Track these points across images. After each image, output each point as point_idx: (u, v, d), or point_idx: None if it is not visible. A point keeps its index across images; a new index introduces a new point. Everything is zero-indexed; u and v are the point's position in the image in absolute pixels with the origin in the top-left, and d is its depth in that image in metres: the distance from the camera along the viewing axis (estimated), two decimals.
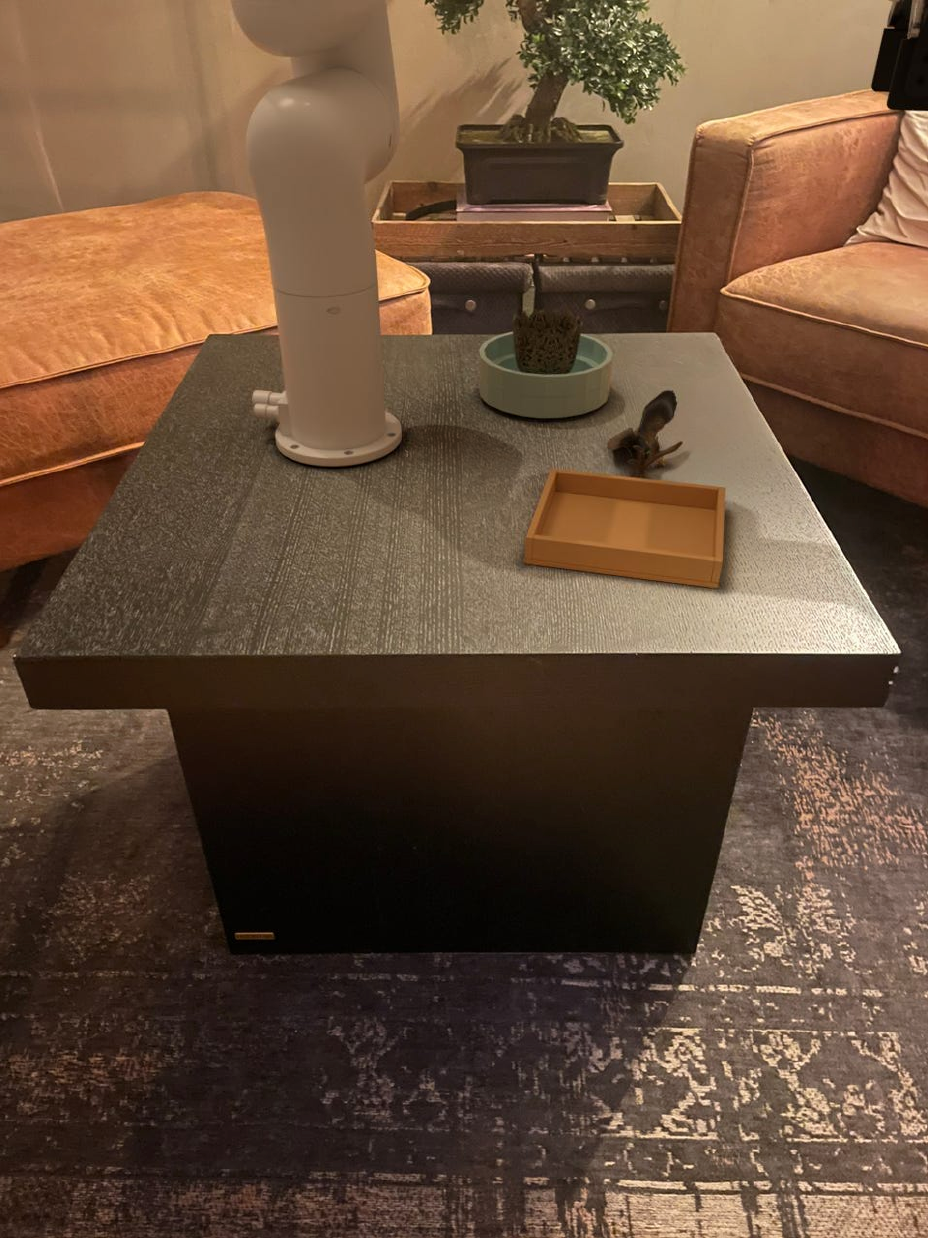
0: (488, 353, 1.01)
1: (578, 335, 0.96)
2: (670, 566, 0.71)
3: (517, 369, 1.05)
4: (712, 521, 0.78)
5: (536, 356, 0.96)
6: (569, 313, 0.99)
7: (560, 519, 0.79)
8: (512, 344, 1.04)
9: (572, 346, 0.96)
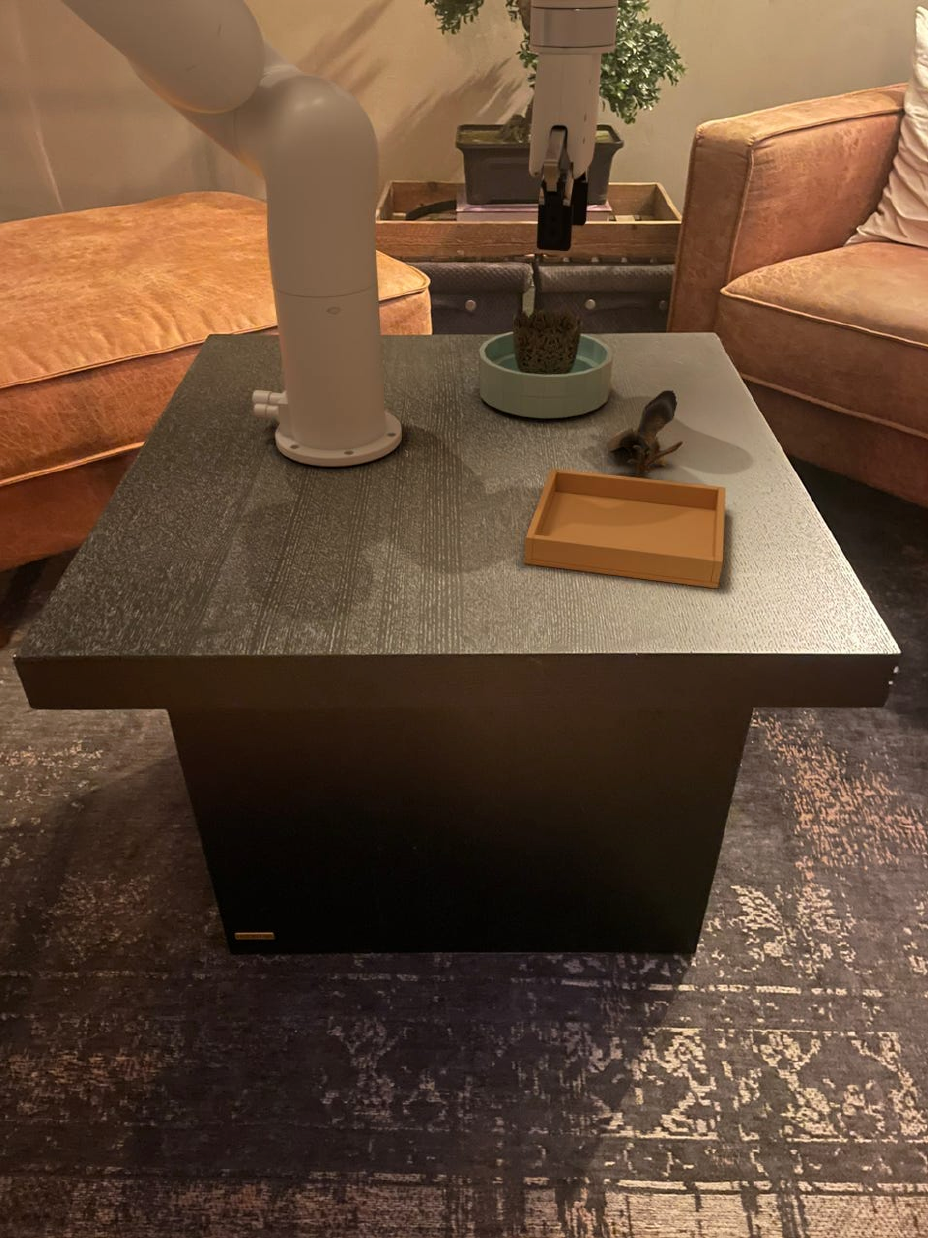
0: (488, 353, 1.01)
1: (578, 335, 0.96)
2: (670, 566, 0.71)
3: (517, 369, 1.05)
4: (712, 521, 0.78)
5: (536, 356, 0.96)
6: (569, 313, 0.99)
7: (560, 519, 0.79)
8: (512, 344, 1.04)
9: (572, 346, 0.96)
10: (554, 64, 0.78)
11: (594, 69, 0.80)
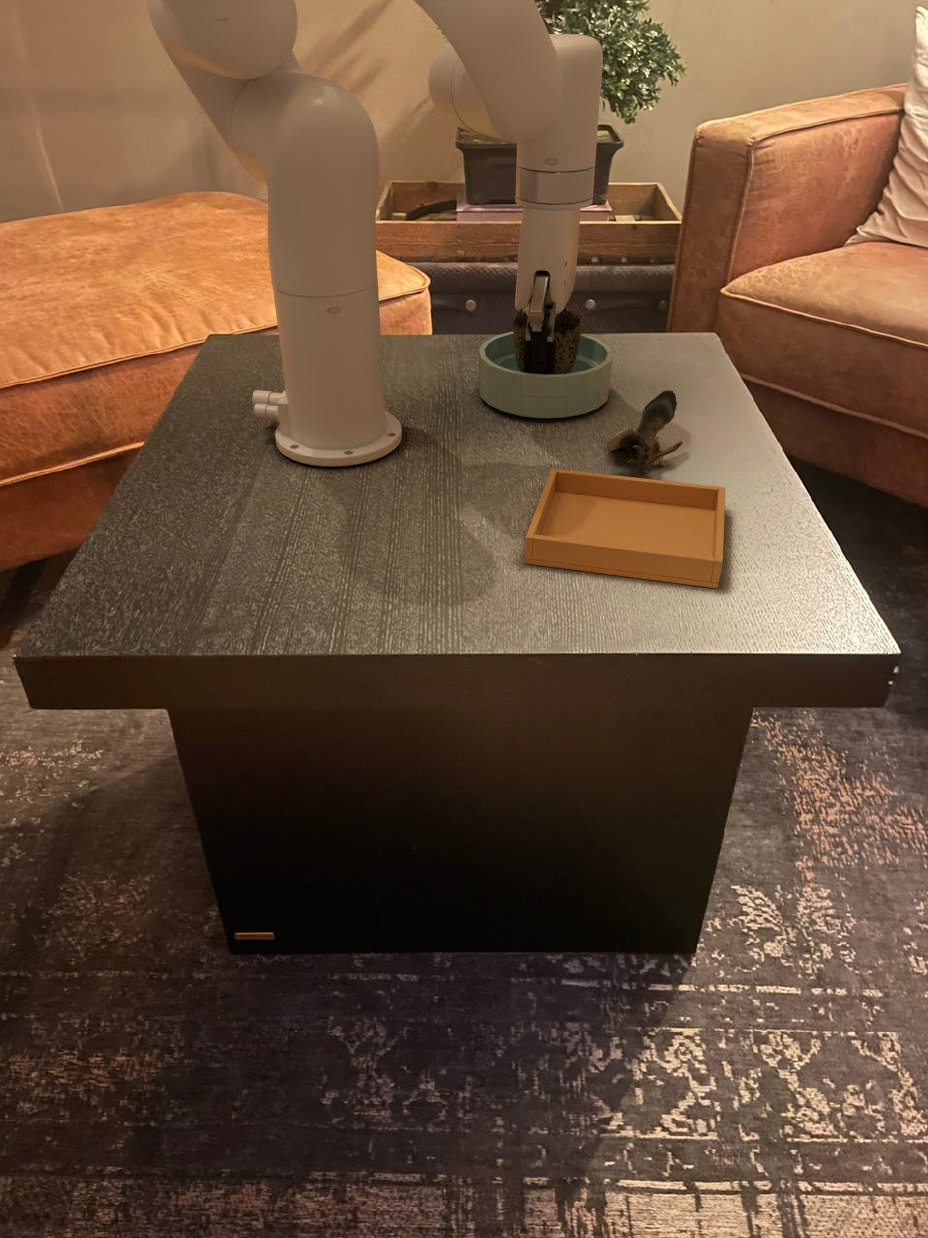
0: (488, 353, 1.01)
1: (578, 335, 0.96)
2: (670, 566, 0.71)
3: (517, 369, 1.05)
4: (712, 521, 0.78)
5: None
6: (569, 313, 0.99)
7: (560, 519, 0.79)
8: (512, 344, 1.04)
9: (572, 346, 0.96)
10: (537, 219, 0.87)
11: (574, 221, 0.88)
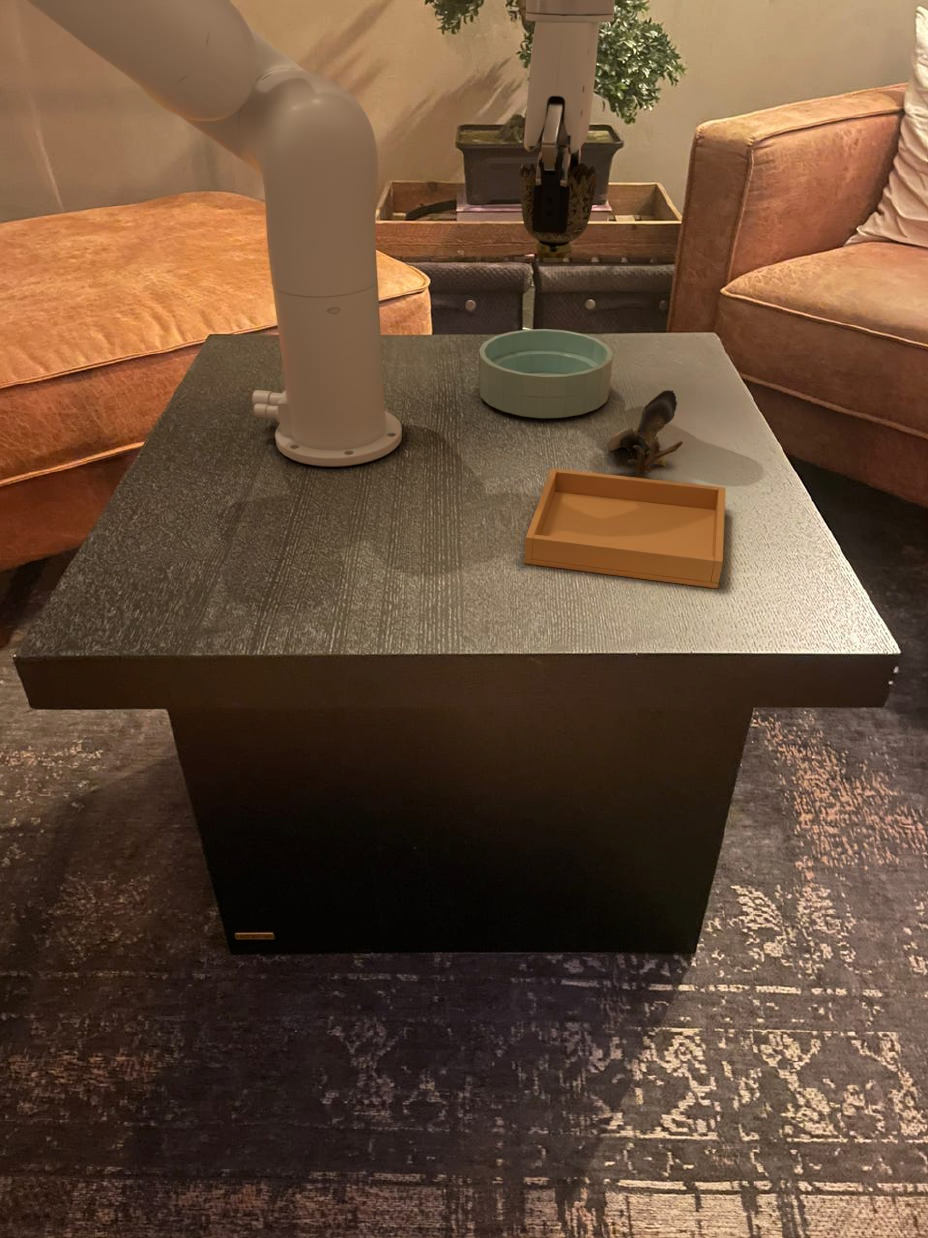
0: (488, 353, 1.01)
1: (594, 185, 0.85)
2: (670, 566, 0.71)
3: (517, 369, 1.05)
4: (712, 521, 0.78)
5: None
6: (582, 166, 0.88)
7: (560, 519, 0.79)
8: (512, 344, 1.04)
9: (587, 197, 0.85)
10: (552, 32, 0.76)
11: (592, 39, 0.77)
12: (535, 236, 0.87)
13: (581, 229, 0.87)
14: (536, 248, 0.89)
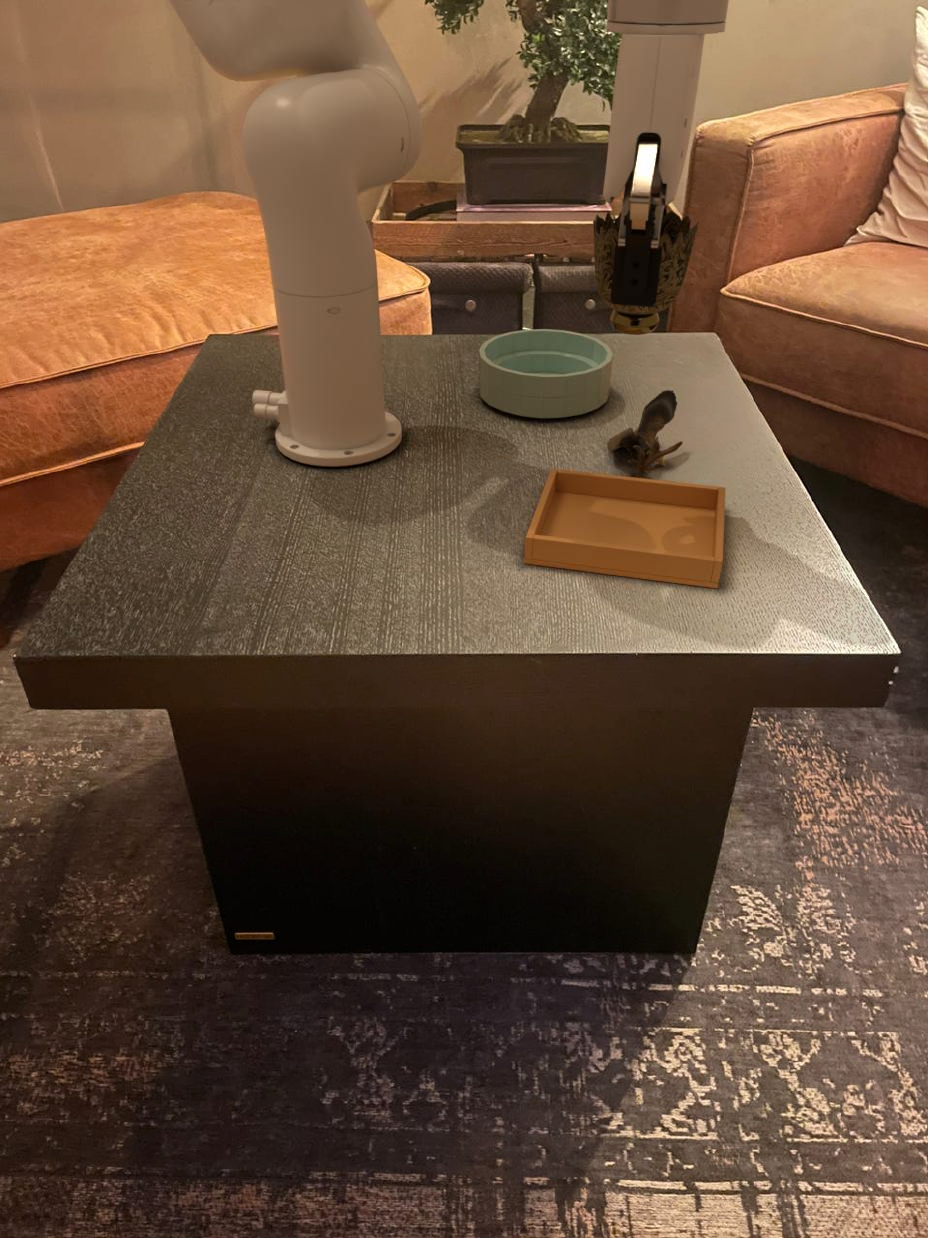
0: (488, 353, 1.01)
1: (692, 242, 0.65)
2: (670, 566, 0.71)
3: (517, 369, 1.05)
4: (712, 521, 0.78)
5: None
6: (673, 215, 0.68)
7: (560, 519, 0.79)
8: (512, 344, 1.04)
9: (683, 258, 0.65)
10: (646, 48, 0.56)
11: (698, 56, 0.58)
12: (613, 307, 0.68)
13: (673, 298, 0.67)
14: (613, 320, 0.70)
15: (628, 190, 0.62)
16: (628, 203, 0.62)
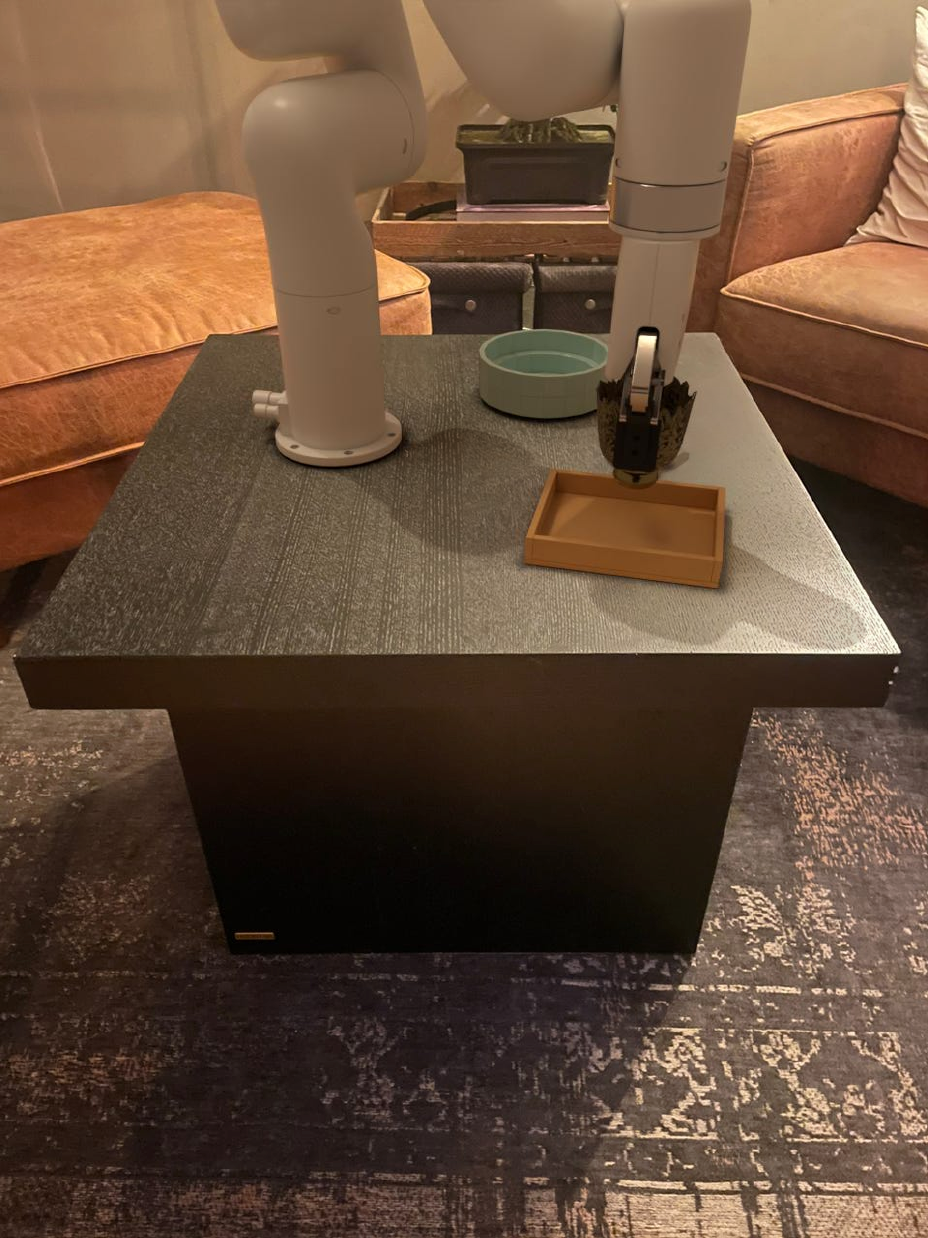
0: (488, 353, 1.01)
1: (690, 411, 0.69)
2: (670, 566, 0.71)
3: (517, 369, 1.05)
4: (712, 521, 0.78)
5: None
6: (673, 378, 0.72)
7: (560, 519, 0.79)
8: (512, 344, 1.04)
9: (682, 426, 0.69)
10: (646, 254, 0.60)
11: (695, 255, 0.61)
12: None
13: (672, 459, 0.71)
14: (615, 476, 0.73)
15: (629, 371, 0.65)
16: (629, 383, 0.65)
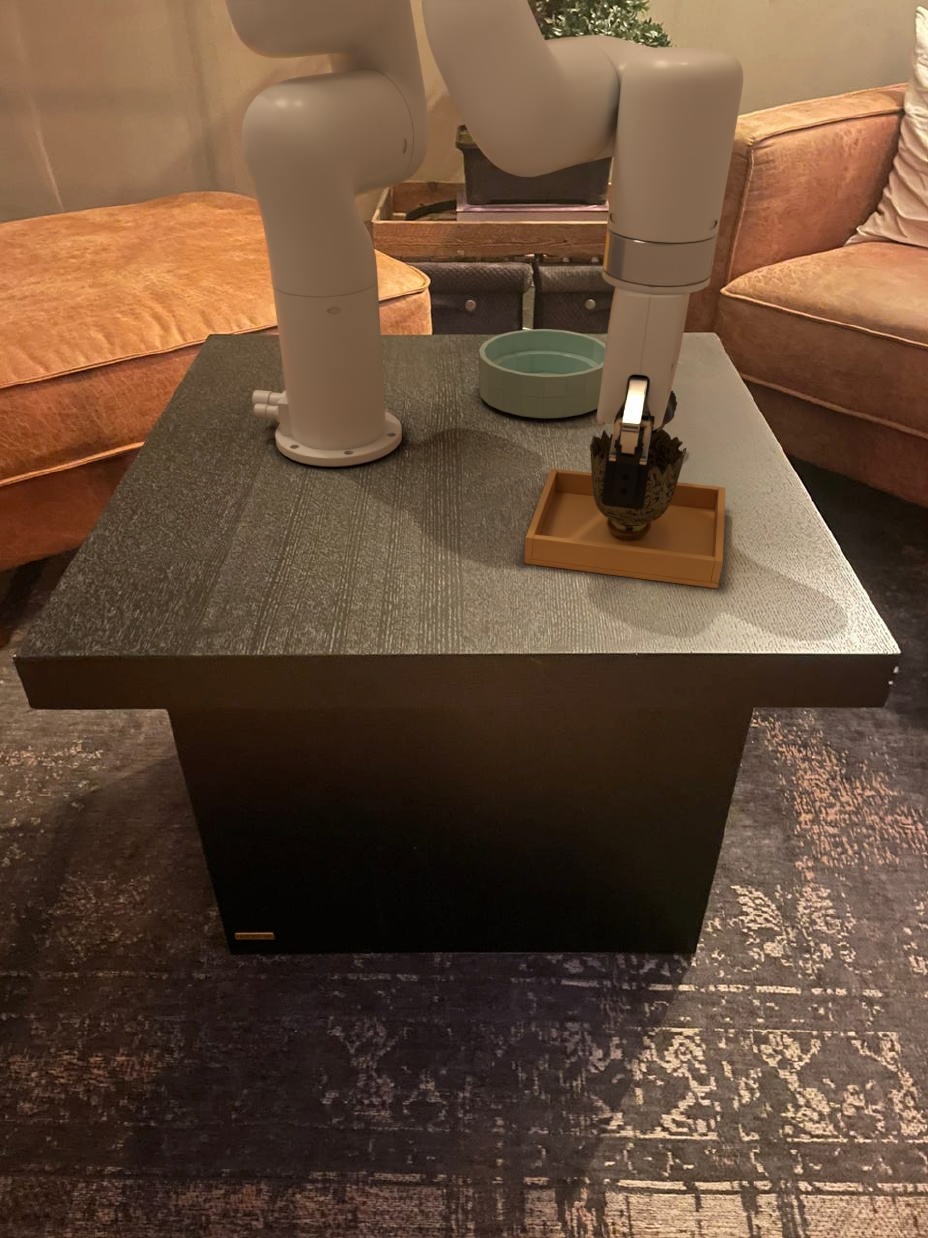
0: (488, 353, 1.01)
1: (680, 467, 0.71)
2: (670, 566, 0.71)
3: (517, 369, 1.05)
4: (712, 521, 0.78)
5: None
6: (664, 433, 0.74)
7: (560, 519, 0.79)
8: (512, 344, 1.04)
9: (672, 482, 0.71)
10: (637, 306, 0.62)
11: (685, 307, 0.63)
12: (608, 518, 0.74)
13: (663, 512, 0.73)
14: (609, 526, 0.76)
15: (619, 412, 0.67)
16: (619, 423, 0.67)
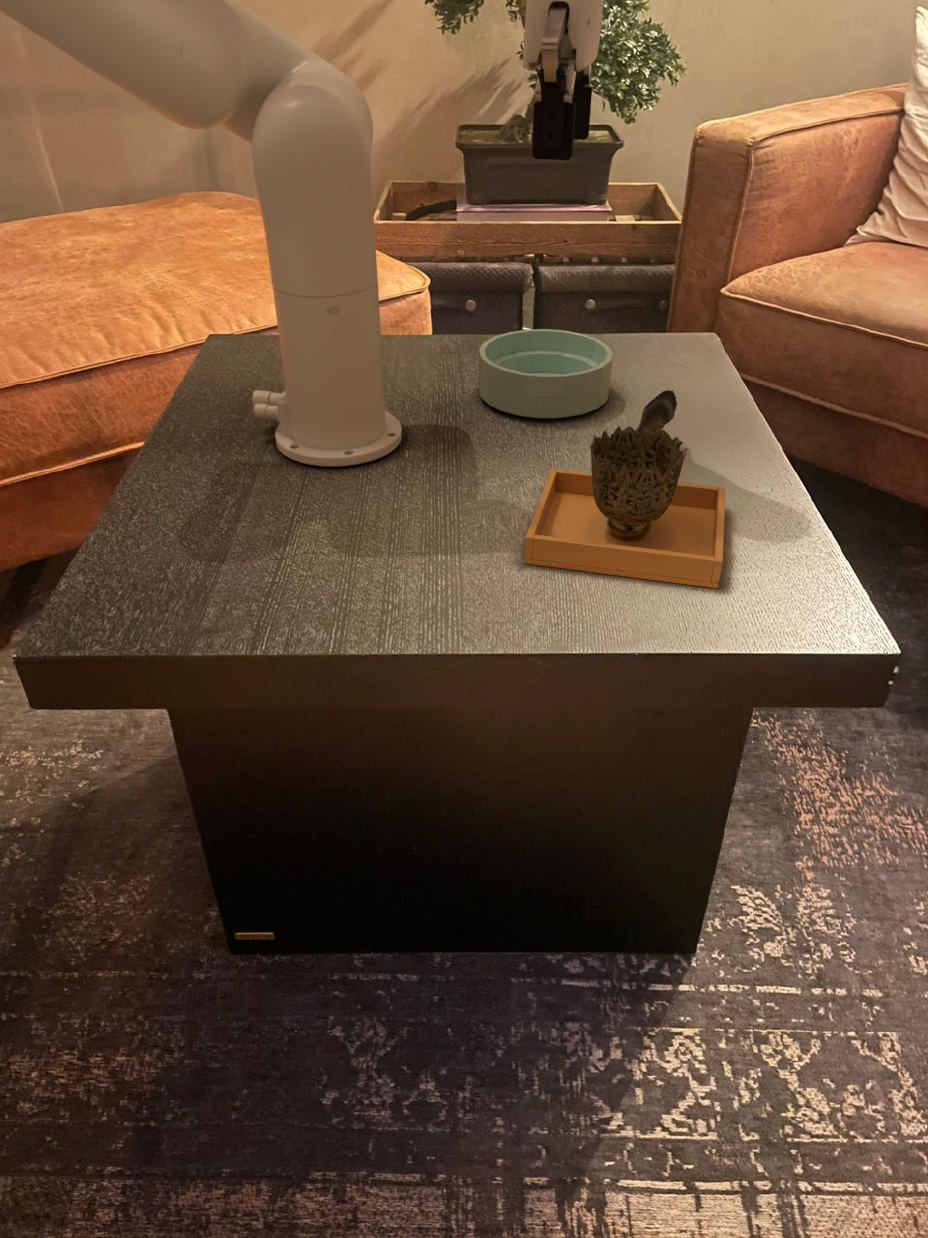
0: (488, 353, 1.01)
1: (680, 467, 0.71)
2: (670, 566, 0.71)
3: (517, 369, 1.05)
4: (712, 521, 0.78)
5: (624, 496, 0.71)
6: (664, 434, 0.74)
7: (560, 519, 0.79)
8: (512, 344, 1.04)
9: (672, 482, 0.71)
10: None
11: None
12: (608, 518, 0.74)
13: (663, 512, 0.73)
14: (609, 526, 0.76)
15: None
16: None
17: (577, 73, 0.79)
